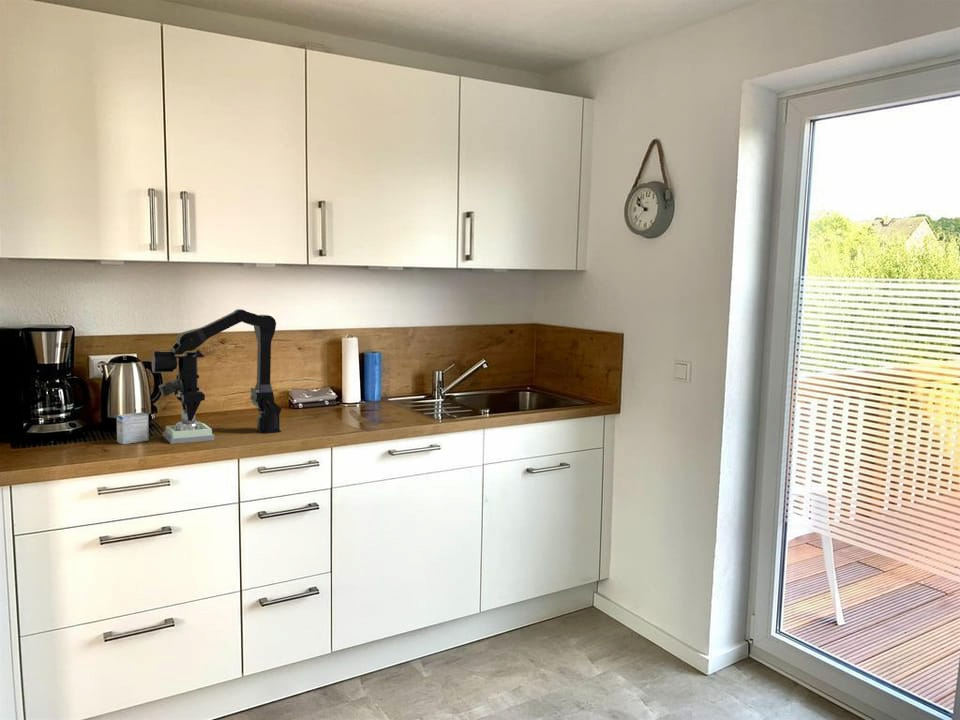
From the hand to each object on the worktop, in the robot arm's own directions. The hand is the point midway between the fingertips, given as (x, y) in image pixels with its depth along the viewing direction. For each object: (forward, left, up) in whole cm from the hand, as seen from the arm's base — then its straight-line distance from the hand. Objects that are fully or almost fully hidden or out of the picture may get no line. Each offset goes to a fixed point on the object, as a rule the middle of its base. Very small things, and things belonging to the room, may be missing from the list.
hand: (188, 419), depth 226 cm
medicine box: (+16, -2, -6) cm, 17 cm away
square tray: (0, 0, -6) cm, 6 cm away
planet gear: (0, 0, -3) cm, 3 cm away
